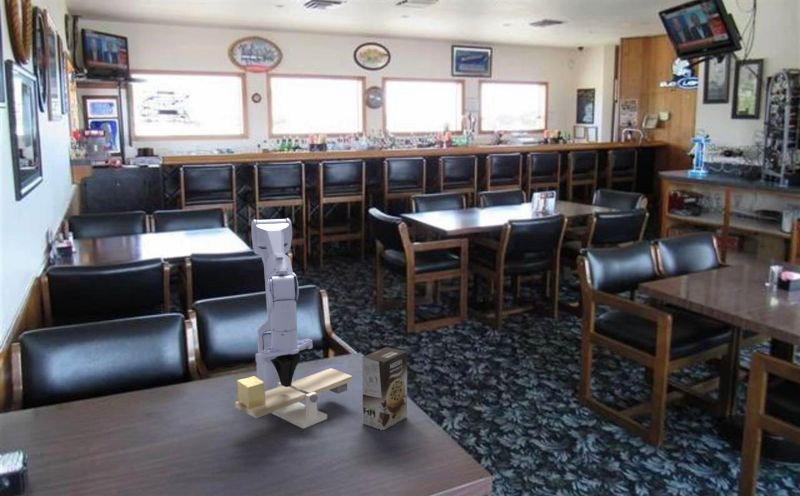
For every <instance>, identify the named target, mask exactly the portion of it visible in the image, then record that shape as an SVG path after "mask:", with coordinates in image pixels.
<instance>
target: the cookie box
mask: <svg viewBox="0 0 800 496" xmlns="http://www.w3.org/2000/svg"><path fill="white" fill-rule="evenodd" d="M406 418H408V351H407V350H406V351H405V350H402V349H397V348H391V347H388V346H386V347H383V348H381V349H379V350H376V351H373V352H371V353H368V354H366V355H363V356H362V424H364V425H366V426H369V427H371V426H372V427H371V428H374V429H376V430H379V429H380V431H382V430H383V431H385V430H387V429H389V428H390V426H391V427H392V426H394V425H396V424H398V423H400V422H401V421H404V420H405V419H406ZM397 422H398V423H397ZM388 427H389V428H388Z"/></svg>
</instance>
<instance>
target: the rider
mask: <svg viewBox="0 0 800 496" xmlns="http://www.w3.org/2000/svg"><path fill="white" fill-rule="evenodd" d="M236 382H237V396H238V397H237V399H238V400H237V402H238V401H239V402H240V403H241V404H242V405H244V406H245V407H246V408H248V409H251V408H255V407H258V406H261V405H265V404H266V402H265V383H264V382H263V381H261V380H260V379H258V378H257V376H254V375H253V376H249V377H246V378H241V379H238V380H236Z"/></svg>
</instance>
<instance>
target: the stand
mask: <svg viewBox="0 0 800 496" xmlns="http://www.w3.org/2000/svg"><path fill="white" fill-rule="evenodd" d="M279 386H282V385H281V382H280V380H279V381H278V383H277V387H279ZM304 402H305V404H304V403H302V402H301V401H299V402H297V403H294V404H292V405H289V406H287V407H284V408H281V409H279V410H276V411H274V412H271V413H270V414H273V415H274V416H276V417H279V418H280V419H282V420H285V421H286V422H288V423H291V424H292V425H295V426H296V427H298V428H301V429H306V428H309V427H311V426H313V425H316V424H317V423H320V422H323V421H325V420H327V419H328V414H326V413H324V412H322V411H321V410H318V395H317V393H315V392H311V393H309V394H306V395H305V400H304Z"/></svg>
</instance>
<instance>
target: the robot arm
mask: <svg viewBox="0 0 800 496" xmlns="http://www.w3.org/2000/svg"><path fill="white" fill-rule="evenodd" d="M292 224H293V223H292V221H291V219H290V218H289V217H286V218H278V219H277V218H276V219H275V218H273V219H253V220H251V225H250V226H251V241H252V250H253V252H254V254H256V255H258V256H260V257H261V260H262V263H263V268H264V269H263V270H264V272H263V274H264V282H265V283H264V285H265V286H264V287H265V299H266V314H267V319H266V320H265V321H263V323H261V324H260V325H259V327H258V328H257V337H256V339H257V342H256V343H257V353H255V363H256V378H258V379H260V380H261V381H263V382H264V383H265V391H268V390H271V389H274V388H277V383H278V381H279V380H280V382H281V385H282V386H284V387H289V386H291V383H292V382H293V381H294V374H295V370H296V368H297V366H298V363H300V361H301V354H299V352H300V351H301V352H302V351H304V350H306V349H307V350H311V349H313V339H310V338H304V339H299V337H298V321H297V320H298V319H297V318H298V317H297V301H298V300H299V299H298V298H299V282H298V277H297V274H296V273H295V272H293V268H292V262H291V258H290V257H289V256H288V255H287V253H289V252H290V250H291V249H290V248H291V247H292V240H293V226H292Z"/></svg>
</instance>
